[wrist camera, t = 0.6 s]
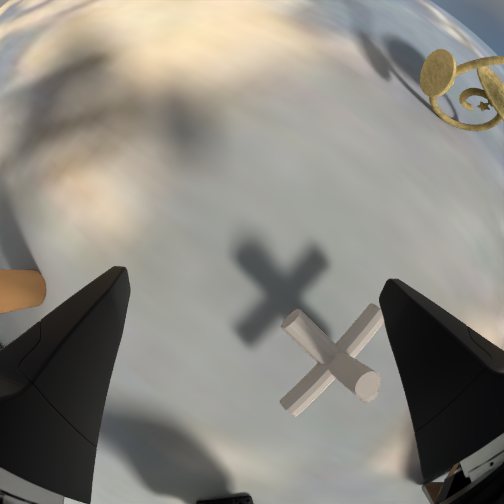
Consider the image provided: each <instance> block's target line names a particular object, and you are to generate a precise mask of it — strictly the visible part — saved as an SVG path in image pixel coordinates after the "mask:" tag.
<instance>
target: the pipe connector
mask: <svg viewBox="0 0 504 504" xmlns="http://www.w3.org/2000/svg"><path fill="white" fill-rule="evenodd" d="M383 323H384V319H383V315H382V311H381V308H379V307H378V306H376V305H374V304H372V303H371V304H369V305H368V306H367V308H366V309H365V310H364V311H363V313H362V314H361V315H360V316H359V317H358V319H357V320H356V321H355V322H354V323H353V325H352V326H351V327H350V328H349V329H348V330H347V332H346V333H345V334H344V335H343V336H342V337H341V338H340V340H339V341H338V342H337V343H336V344H335V343H334V342H333V341H332V340H331V339H330V338H329V337H328V336H327V335H326V334H325V333H324V332H323V331H322V330H321V329H320V328H319V327H318V326H317V325H316V324H315V323H314V322H313V321H312V320H311V319H310V318H309V317H308V316H306V315H305V314H304V313H303V312H302V311H301V310H300V309H296V310H295V311H293V312H292V313H290V314H289V315H288V316H287V317H286V319H285V320H284V321H283V323H282V325H281V328H282V329H283V330H284V331H285V332H286V333H287V334H288V335H289V336H290V337H291V338H292V339H293V340H295V341H296V342H297V343H298V344H299V345H300V346H301V347H302V348H303V349H304V350H305V351H306V352H307V353H308V354H309V355H310V356H312V357H313V358H314V359H315V360H316V361H317V362H318V363H317V364H316V366H315V367H314V368H313V369H312V370H311V371H310V372H309V373H308V374H307V375H306V376H305V377H304V378H303V379H302V380H301V381H300V382H299V383H298V384H297V385H296V386H295V387H294V388H292V389H291V390H290V391H289V392H288V393H287V394H286V395H285V396H284V397H283V398H282V399H281V400H280V403H281V405H282V406H283V407H284V408H285V409H286V410H287V411H288V412H289V413H290V414H292V415H293V416H295V417H297V416H298V415H299V414H300V413H301V412H302V411H303V410H304V409H305V408H306V407H307V406H308V405H310V404H311V403H312V402H313V401H314V400H315V399H316V398H317V397H318V396H319V395H320V394H321V393H322V392H323V391H324V390H325V389H326V388H327V387H328V386H329V385H330V384H331V383H332V382H333V381H334V380H335V378H336V379H337V380H339V381H340V382H341V383H342V384H343V385H344V386H345V387H347V388H348V389H349V390H350V391H351V392H352V393H353V394H354V395H356V396H357V397H358V398H359V399H360V400H361V401H363V402H365V403H368V402H371V401H372V400H374V399H375V398H376V397H377V395H378V394H379V389H380V388H379V387H380V384H381V377H380V375H379V373H377V372H376V371H374V370H372V369H371V368H369V367H367V366H366V365H364V364H362V363H361V362H359V361H358V360H356V359H354V358H355V357H356V355H357V354H358V353H359V352H360V351H361V350H362V348H363V347H364V346H365V345H366V344H367V343H368V341H369V340H370V339H371V338H372V336H373V335H374V334H375V333H376V332H377V330H378V329H379V328H380V326H381V325H382V324H383Z"/></svg>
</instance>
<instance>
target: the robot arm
mask: <svg viewBox="0 0 504 504" xmlns="http://www.w3.org/2000/svg"><path fill="white" fill-rule="evenodd" d="M129 297H130V283H129V277H128V272H127V269H126V267H122V266H114V267H112V268H111V269H109V270H108V271H106V272H105V273H103V274H102V275H100V276H99V277H98V278H96V279H95V280H93V281H92V282H91V283H89V284H88V285H86V286H85V287H84V288H82V289H81V290H79V291H78V292H77V293H75V294H74V295H73V296H71V297H70V298H69V299H67V300H66V301H65V302H63V303H62V304H61V305H59V306H58V307H57V308H55V309H54V310H53V311H51V312H50V313H49V314H48V315H46V316H45V317H44V318H42V319H41V322H40V321H39V322H37V323H36V324H35V325H34V326H32V327H31V328H30V329H29V330H27V331H26V332H25V333H23V334H22V335H21V336H20V337H18V338H17V339H15V340H14V341H13V342H11V343H10V344H8V345H7V346H6V347H4V348H3V349H1V350H0V504H64V497H67V498H70V499H73V500H76V501H79V502H83V503H86V504H90V503H91V492H92V482H93V473H94V465H95V457H96V450H97V449H96V448H97V443H98V437H99V431H100V426H101V420H102V415H103V410H104V406H105V401H106V396H107V392H108V388H109V383H110V379H111V375H112V371H113V367H114V363H115V359H116V356H117V352H118V348H119V345H120V341H121V338H122V334H123V329H124V324H125V318H126V313H127V307H128V302H129ZM379 303H380V307H381V311H382V315H383V319H384V323H385V327H386V331H387V335H388V339H389V342H390V345H391V348H392V351H393V354H394V357H395V361H396V364H397V367H398V370H399V374H400V377H401V381H402V384H403V388H404V391H405V395H406V399H407V403H408V407H409V411H410V415H411V419H412V423H413V428H414V432H415V438H416V443H417V448H418V453H419V458H420V464H421V470H422V476H423V480H426V479H428V478H430V477H432V476H434V475H436V474H438V473H440V472H442V471H444V470H446V469H448V468H450V467H452V466H453V465H455V464H457V463H459V462H460V464H461V467H462V469H461V470H459V471H457V472H456V473H454V474H452V475H451V476H449V477H447V478H446V479H445V481H444V483H443V486H442V488H441V490H440V493H439V495H438V497H437V500H436V502H435V504H504V351H503V350H502V349H500V348H499V347H497V346H496V345H494V344H493V343H491V342H490V341H488V340H487V339H485V338H484V337H482V336H481V335H480V334H478V333H477V332H475V331H474V330H472V329H471V328H470V327H468V326H466V324H464V323H463V322H461V321H460V320H458V319H457V318H456V317H454V316H453V315H451V314H450V313H448V312H447V311H446V310H444V309H443V308H441V307H440V306H438V305H437V304H435V303H434V302H432V301H431V300H429V299H428V298H427V297H425V296H424V295H422V294H420V293H419V292H417V291H416V290H414V289H413V288H411V287H410V286H408V285H407V284H405V283H404V282H402V281H401V280H399V279H388V280H387V281H386V283H385V285H384V288H383V290H382V292H381V294H380V297H379ZM196 504H254V503H253V500H252V497H251V496H243V497H236V498H228V499H218V500H207V501H197V502H196Z"/></svg>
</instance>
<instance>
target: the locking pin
mask: <svg viewBox="0 0 504 504" xmlns="http://www.w3.org/2000/svg"><path fill="white" fill-rule="evenodd" d="M45 296H46V284H45V281H44V278H43V277H42V275H41V274H40V273H39V272H38V271H36V270H0V314H1V313H6V312H11V311H16V310H21V309H26V308H31V307H36V306H39V305H41V304H42V303H43V301H44V299H45Z"/></svg>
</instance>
